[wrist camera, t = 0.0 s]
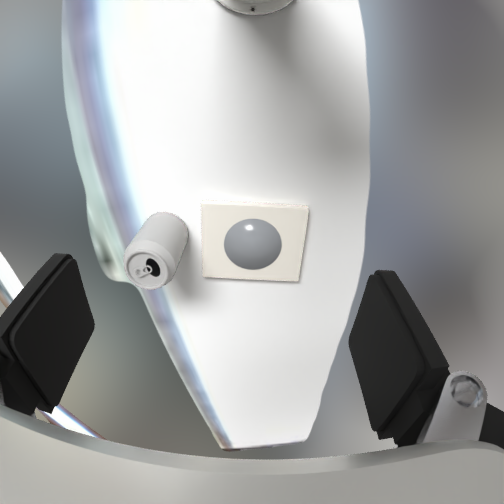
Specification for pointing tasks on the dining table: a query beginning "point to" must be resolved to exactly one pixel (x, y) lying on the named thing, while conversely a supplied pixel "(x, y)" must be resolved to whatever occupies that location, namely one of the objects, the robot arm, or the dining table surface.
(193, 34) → the dining table surface
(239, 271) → the tile
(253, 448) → the dining table surface
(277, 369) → the dining table surface
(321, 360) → the dining table surface
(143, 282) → the can
